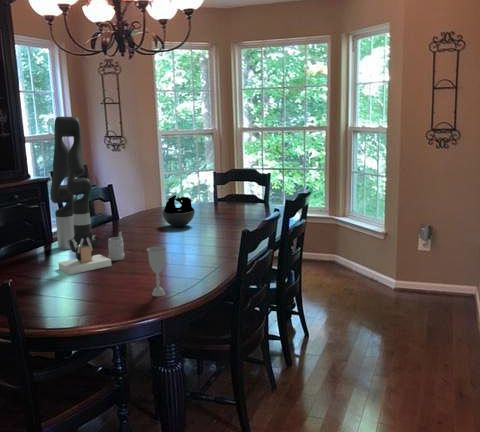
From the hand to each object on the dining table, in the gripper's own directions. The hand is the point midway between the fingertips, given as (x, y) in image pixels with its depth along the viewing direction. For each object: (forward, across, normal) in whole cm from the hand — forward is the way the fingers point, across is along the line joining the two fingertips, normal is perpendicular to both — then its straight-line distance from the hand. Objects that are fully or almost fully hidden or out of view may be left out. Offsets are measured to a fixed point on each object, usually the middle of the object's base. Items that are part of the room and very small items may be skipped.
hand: (84, 259), depth 234 cm
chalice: (+4, -6, +54) cm, 54 cm away
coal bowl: (+4, -80, -44) cm, 91 cm away
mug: (+4, -19, -5) cm, 20 cm away
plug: (+2, 0, 0) cm, 2 cm away
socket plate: (+4, 0, 0) cm, 4 cm away
